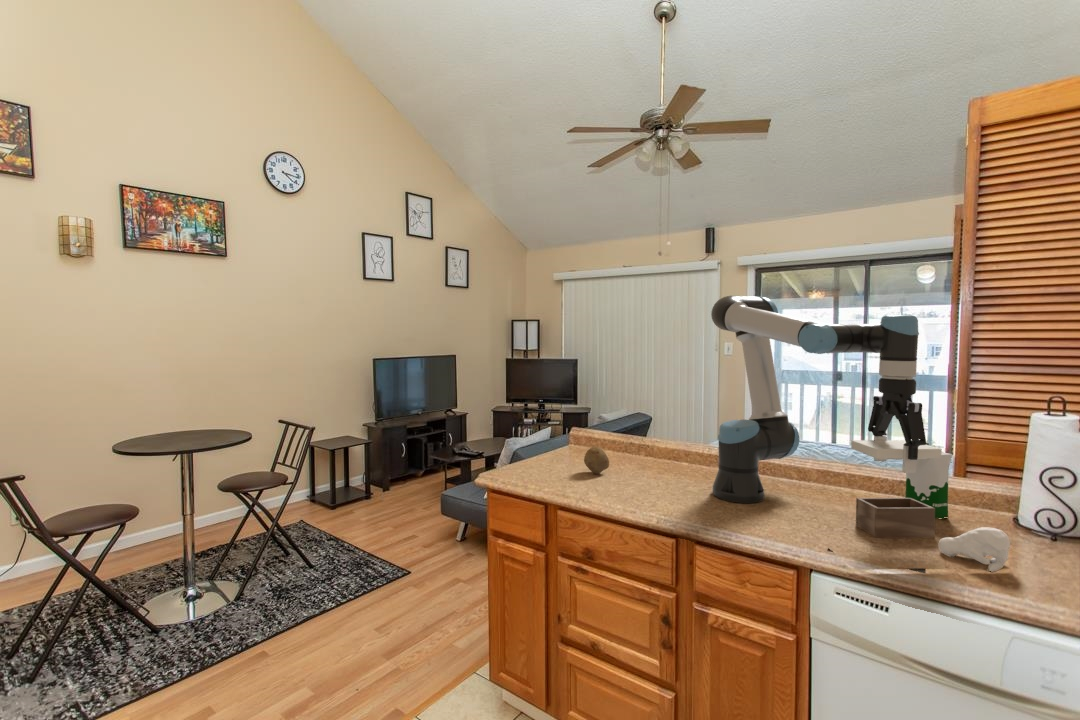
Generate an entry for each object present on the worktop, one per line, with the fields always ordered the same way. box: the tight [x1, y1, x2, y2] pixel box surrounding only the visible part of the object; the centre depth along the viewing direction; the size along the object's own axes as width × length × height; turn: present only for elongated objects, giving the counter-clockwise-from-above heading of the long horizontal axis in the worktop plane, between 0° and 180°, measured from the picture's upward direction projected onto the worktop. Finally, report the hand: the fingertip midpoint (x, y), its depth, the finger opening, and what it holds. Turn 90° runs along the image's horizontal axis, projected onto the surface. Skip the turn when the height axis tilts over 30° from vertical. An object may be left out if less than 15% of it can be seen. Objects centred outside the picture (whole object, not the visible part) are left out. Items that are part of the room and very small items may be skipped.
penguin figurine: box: [937, 526, 1011, 573], centre depth 108 cm, size 6×8×12 cm
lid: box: [850, 439, 943, 460], centre depth 123 cm, size 10×16×3 cm, turn 89°
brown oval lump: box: [583, 446, 610, 475], centre depth 182 cm, size 9×9×10 cm
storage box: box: [855, 497, 936, 539], centre depth 124 cm, size 8×14×8 cm, turn 89°
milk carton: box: [904, 442, 953, 519], centre depth 136 cm, size 9×9×20 cm
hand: (893, 466), depth 124 cm, fingers closed on lid, 10 cm apart
